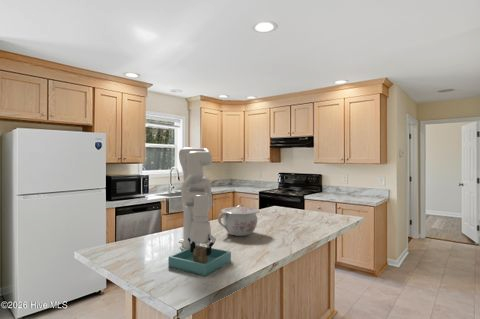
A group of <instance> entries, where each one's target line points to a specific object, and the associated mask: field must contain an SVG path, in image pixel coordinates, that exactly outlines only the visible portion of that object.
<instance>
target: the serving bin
mask: <svg viewBox="0 0 480 319" xmlns="http://www.w3.org/2000/svg"><path fill="white" fill-rule="evenodd" d="M197 247H205V248H207V246H203V245H202V246H198V245H196V246H195V248H197ZM193 259H194V252H190V248H189V249H186V250H184V251H183V250H181V251H179V252H176V253H175V254H172V255H169V256H168V261H167V262H168V265H167V266H168V268H171V269H175V270H179V271H183V272H186V273H190V274H195V275H199V276H202V277H207V276H209V275H210V274H212V273H214V272H216V271H217V270H220V269H221V268H222V267H224V266H226V265H228V264H229V263H231V262H232V251H229V250H224V249H218V248H213V247H211V254H210V255H208V262H206V263H205V264H203V263H198V262H194V261H193Z"/></svg>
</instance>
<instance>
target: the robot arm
mask: <svg viewBox="0 0 480 319" xmlns="http://www.w3.org/2000/svg"><path fill="white" fill-rule="evenodd" d="M178 160H179V163H180V166H181V168H182V172H183V182H182V184H181V188H180V196H181V204H182V210H183V234H182V235H183V237H182V238H183V239H182V238H180V239H179V241H178V243H179V244H181V245H180V250H181V251H184V250H186V249H189V248H190V252H194V249H195V246H196V245H198V246H203V245H202V244H205V245H206V247H207V248H206V256H208V255H210V254H211V248H213V245H215V243H216V241H217V239H216V238H215V236H213V235H212V231H211V230H212V229H211V224H210V223H211V222H210V221H209V220H210V214H209V213H210V210H211V209H212V207H213V196H212V185H211V180H210V178H208V177H207V176H204V168H203V167H210V166H211V165H212V163H213V157H212V153H211V152H210V151H209V149H208V148H205V147H183V148H181V149H179V152H178Z"/></svg>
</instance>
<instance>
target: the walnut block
mask: <svg viewBox="0 0 480 319" xmlns="http://www.w3.org/2000/svg"><path fill="white" fill-rule="evenodd" d="M205 247H206V246H203V247H197V248H195V249H194V259H193V261H194V262H198V263H203V264H205V263H206V262H208V256H206V248H205Z"/></svg>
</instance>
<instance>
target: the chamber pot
mask: <svg viewBox="0 0 480 319" xmlns="http://www.w3.org/2000/svg"><path fill="white" fill-rule="evenodd" d="M220 211H221V212H220V213H219V214H218V217H217V222H218V224H219V225H220V227H222V228H224V230H225V231H226V232H227V233H228V234H229V235H231V236H233V235H235V236H234V237H247V236H249V235H252V234H253V233H254V231H255V230H256V228H257V226H258V222H259V221H258V219H259V218H258V216H257V214H258V213H260V210H259V209H257V208H255V207H250V206H244V205H243V204H238V205H237V206H231V207H226V208H222V209H220ZM246 235H247V236H246Z"/></svg>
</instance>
